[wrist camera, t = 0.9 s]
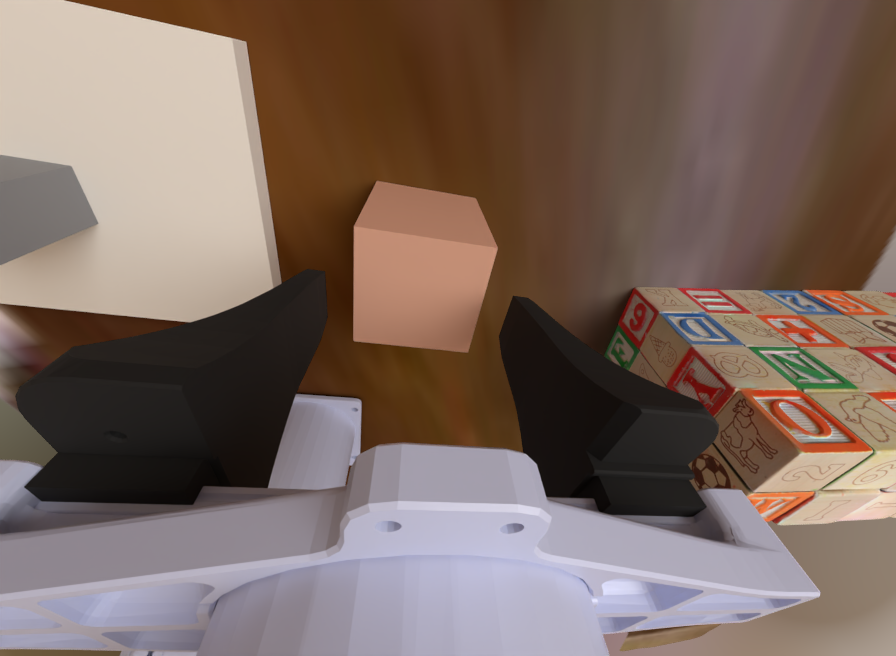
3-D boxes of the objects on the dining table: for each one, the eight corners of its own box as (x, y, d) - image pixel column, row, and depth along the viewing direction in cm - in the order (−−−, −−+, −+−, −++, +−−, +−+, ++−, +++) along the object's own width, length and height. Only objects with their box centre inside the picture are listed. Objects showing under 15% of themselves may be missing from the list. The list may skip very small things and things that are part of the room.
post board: (287, 320, 21) (240, 399, 16) (-44, 285, 18) (-235, 366, 13) (246, 41, 13) (120, 11, 8) (-363, -96, 10) (-1222, -293, 5)
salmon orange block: (456, 282, 20) (467, 352, 15) (372, 271, 19) (353, 341, 14) (475, 198, 17) (497, 248, 12) (376, 180, 16) (353, 226, 11)
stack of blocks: (919, 288, 23) (1293, 442, 13) (849, 354, 27) (1097, 512, 17) (631, 285, 21) (807, 457, 11) (600, 356, 25) (712, 530, 15)
